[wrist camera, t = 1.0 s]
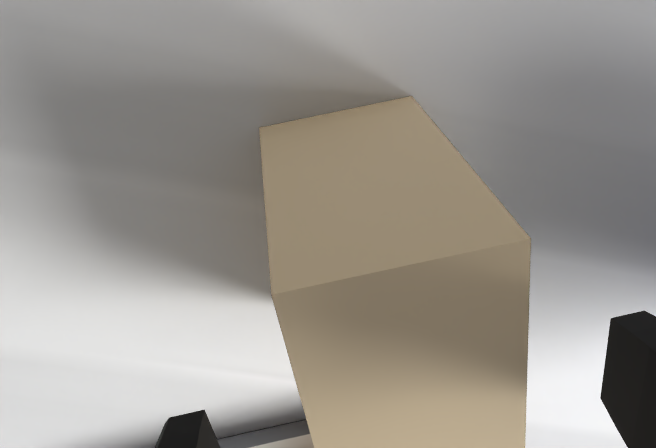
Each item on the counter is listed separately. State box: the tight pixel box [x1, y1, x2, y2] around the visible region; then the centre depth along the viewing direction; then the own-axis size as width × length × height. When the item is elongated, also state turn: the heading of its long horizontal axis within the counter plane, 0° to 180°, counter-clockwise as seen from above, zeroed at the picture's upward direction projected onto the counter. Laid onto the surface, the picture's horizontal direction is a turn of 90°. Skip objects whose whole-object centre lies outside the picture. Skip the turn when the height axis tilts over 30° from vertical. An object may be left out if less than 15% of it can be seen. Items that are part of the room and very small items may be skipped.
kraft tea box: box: [259, 96, 531, 448], centre depth 13 cm, size 4×6×7 cm, turn 10°
